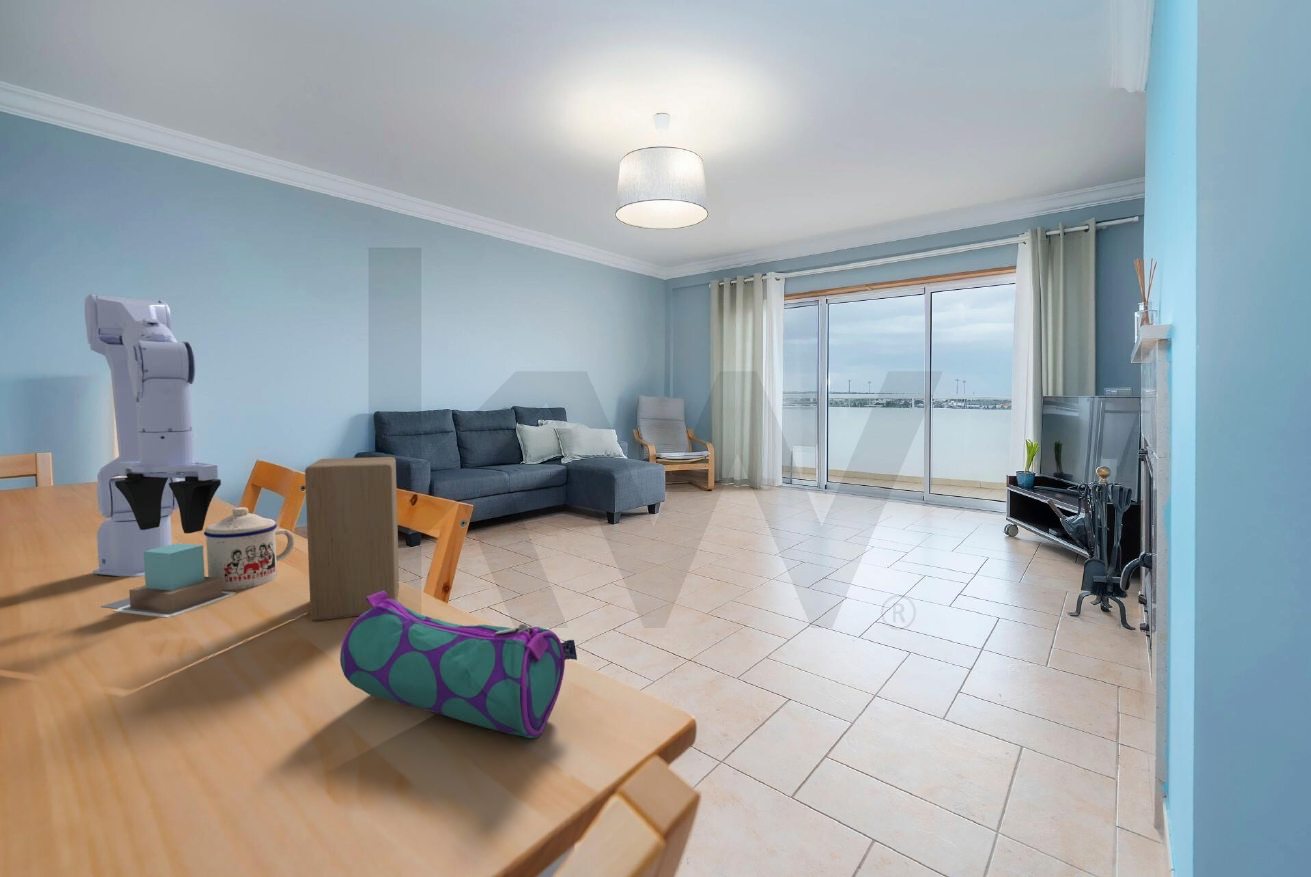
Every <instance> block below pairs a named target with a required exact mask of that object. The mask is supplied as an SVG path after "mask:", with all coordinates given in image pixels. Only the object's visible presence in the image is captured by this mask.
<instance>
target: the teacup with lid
mask: <svg viewBox="0 0 1311 877" xmlns="http://www.w3.org/2000/svg"><path fill="white" fill-rule="evenodd" d="M276 523H277V522H276V521H275V520H274V519H271V518H265V517H262V516H260V515H258V514H255V513H249V508H248V507H245V506H244V507H235V508H233V510H232V513H231V515H228V516H225V517H223V518H222V519H221V520H219V521H218V522H215V523H211V524H209V525H208V526H206V528H205V529H204V532H203V535H204V536H205V537H206V538H205V540H206V541H205V542H206V558H207V559H206V560H207V577H215V578H221V586H222V591H231V590H232V591H234V590H235V591H236V590H242V589H249V588H253V587H254V588H255V587H259V586H263V585H265V584H268V583H271V582H272V581H273V582H274V580H276V579H277V578H278V566H277V565H278V564H277V562H279V561H282V560H284V559H286V558H287V557H289V555H290V554H291V553H292V551H293V549H294V547H295V535H294V534H293V533H292V532H291V531H290V530H288V529H283V528H282V529H281V528H279V529H277V527H278V526H277V525H278V524H276ZM278 535H284V536H286V537H287V538H286V539H287V544H286V546H285V549H284V550H283V551H282V552H281V553H280V554H279V555H277V545H276V544H277V543H276V536H278Z"/></svg>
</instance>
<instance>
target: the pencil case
mask: <svg viewBox="0 0 1311 877" xmlns="http://www.w3.org/2000/svg"><path fill="white" fill-rule="evenodd" d="M366 600H367V602H368V603H370V604H371V605H372V606H373V608H372V609H370V610H369V611H367V612H365V613H363V614H362V615H360V616H357V618H356V619H355V620H354V621H353V622H352V623H351V625H350V627H349V629H348V630H347V632H346V634H345V636H344V638H343V640H342V644H341V647H340V653H339V654H340V656H339V662H340V667H341V670H342V673H343V676H344V677H345V679H346V680H347V681H348V682H349V683H350V684H351V685H352V686H354V687H355V688H357V689H360V690H362V691H363V692H365V693H366V694H368V695H370V696H373V697H377V698H381V699H384V700H388V701H390V702H395V703H399V704H403V705H406V706H410V707H414V708H418V709H423V710H426V711H429V712H433V713H436V714H439V715H443V716H444V717H445V716H446V717H449V718H452V719H455V720H458V721H461V722H465V723H468V724H472V725H476V726H478V727H482V728H487V729H489V730H493V731H497V732H502V733H506V734H509V735H514V736H521V737H525V738H527V739H536V738H538V737H540V736H541V734H542V732H543V731H544V729H545V727H546V725H547V723H548V721H549V718H550V716H551V713H552V711H553V709H554V707H555V705H556V702H557V700H558V697H559V695H560V690H561V687H562V682H563V678H564V674H565V666H566V663H565V662H566V660H575V661H577V660H578V656H577V649H576V644H575V643H576V642H575V640H574V639H568V640H565V641H564V642H561V640H560V637H558V635H557V634H556V633H555V632H554V631H552V630H551V629H548V628H543V627H539V626H533V627H530V626H528V625H527V624H526V623H521V624H519V625H518V627H513V628H511V627H507V626H500V625H499V626H497V625H489V624H485V623H484V624H477V625H472V624H471V625H469V624H468V625H463V624H458V623H457V624H456V623H453V622H447V621H444V620H441V619H438V618H433V617H430V616H426V615H424V614H421V613H418V612H416V611H414V610H413V609H410V608H408V607H406V606H404V605H403V604H402V603H401V602H399V601H398V600H397V601H396V600H394V599H388V596H387V593H386V592H385V591H381V592H378V593H375V594H373V595H370V596H368V597H366Z"/></svg>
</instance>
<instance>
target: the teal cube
mask: <svg viewBox="0 0 1311 877" xmlns="http://www.w3.org/2000/svg"><path fill="white" fill-rule="evenodd" d="M204 555H205V554H204V545H203V544H192V543H181V542H179V543H178V542H177V543H172V545H168V546H164V547H160V548H156V549H152V550H147V551H144V567H145V575H144V579H145V581H144V582H145V585H146V588H151V589H161V590H171V591H173V590H176V589H179V588H182V587H185V586H188V585H192V584H195V583H198V582H201V581H204V580H205V577H206V576H205V574H206V573H205V560H204Z"/></svg>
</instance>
